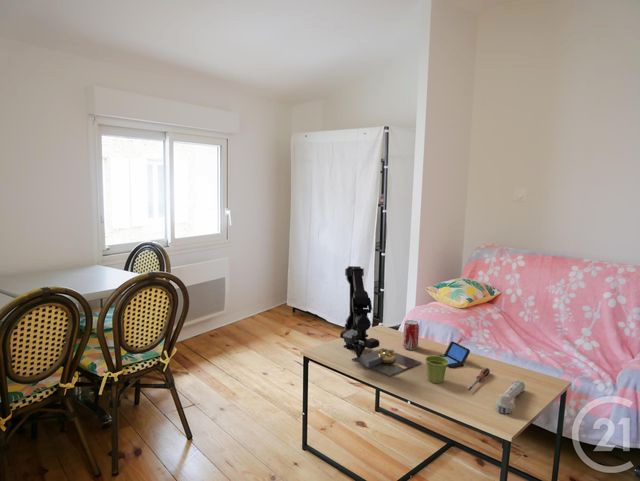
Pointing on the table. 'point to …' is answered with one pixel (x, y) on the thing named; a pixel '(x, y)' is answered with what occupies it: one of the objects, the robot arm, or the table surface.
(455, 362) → the handheld game console
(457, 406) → the table surface
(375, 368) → the plate
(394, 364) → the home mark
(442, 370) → the plant pot
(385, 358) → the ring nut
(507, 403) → the light grey elongated piece
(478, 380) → the screwdriver
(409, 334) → the soda can
